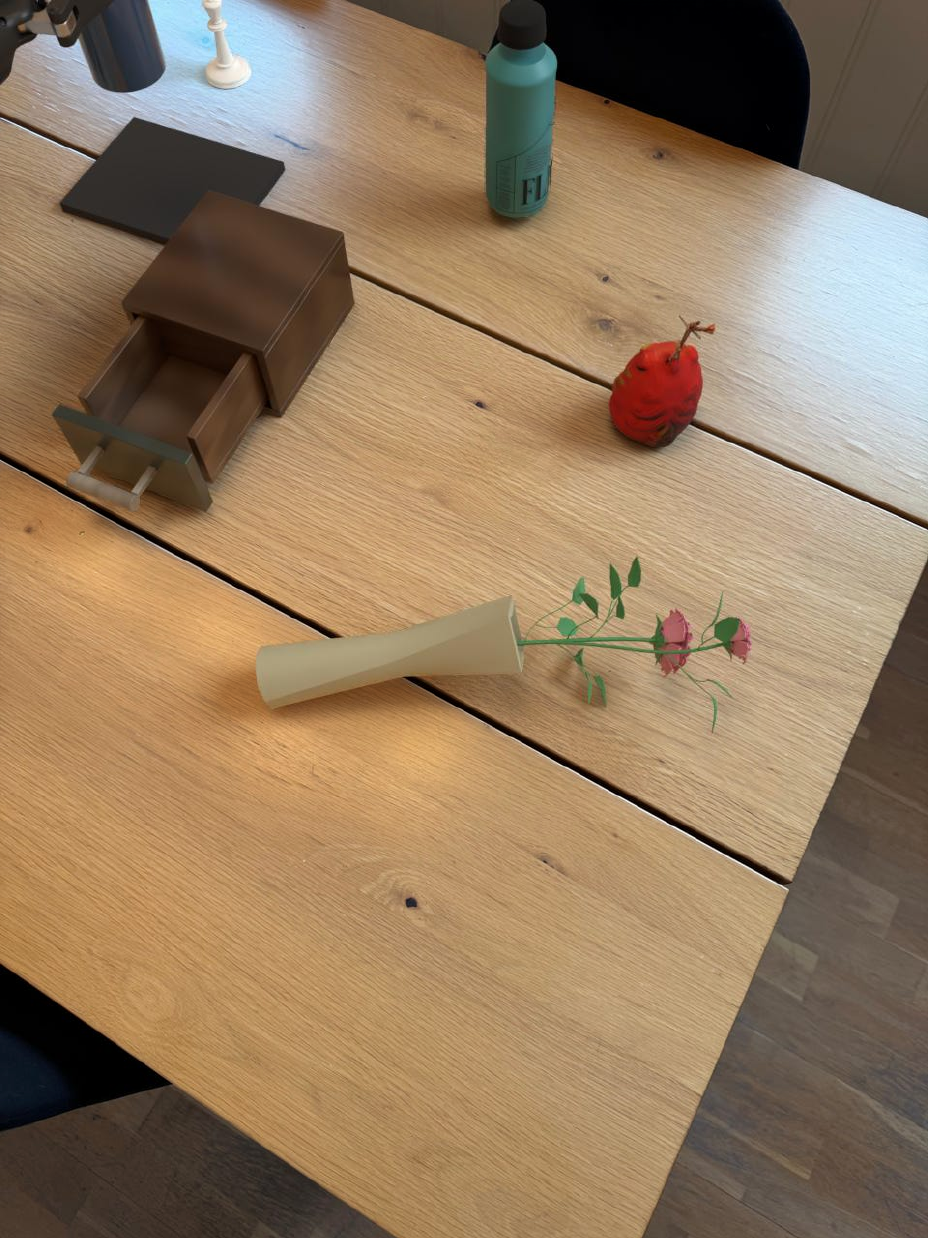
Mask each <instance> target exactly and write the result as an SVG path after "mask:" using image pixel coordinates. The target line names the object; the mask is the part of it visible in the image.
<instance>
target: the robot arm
mask: <svg viewBox="0 0 928 1238" xmlns="http://www.w3.org/2000/svg"><path fill="white" fill-rule="evenodd" d="M114 1H115V0H0V86H2V84H4V83H5V81H6V80H7V79H8V78H9V77H10V75H11V72H12V70H13V69H12V68H13V64H14V58H15V54H16V51H17V49H19V48H20V47H22V46H23V45H26V44H28V43H30V42H32V41H34V40H35V39H36V38H37V37H38V35H47V36H55V37H56V40H57V42H58V46H60V47H61V48H65V49H66V48H72V47H73V46H75V44H76V43H77V41H78V37H79V35H80V34H81V32H82V30H83V28H84V27H85V26H86V25H88V24H89V23H90V22H91V21H92V20H93V19H94V18H95V17H97V16H98V15H99V14H100V13H101V12H102V11H103V10H105V9H106V8H107V7H108V6H109V5H110V4H111V3H112V2H114Z"/></svg>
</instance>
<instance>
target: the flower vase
mask: <svg viewBox="0 0 928 1238" xmlns="http://www.w3.org/2000/svg"><path fill="white" fill-rule="evenodd" d="M641 581H642V568H641V564H640V560H639V557H638V555H636V557H635V558H634V559H633V560H632V563H631V567H630V570H629V573H628V574H627V585H626V586H625V587H624V588H623V585H622V581H621V578H620V574H619V573H618V571H617V570H616V568H615V567H614V566H613V564H612V562H609V587H610V598H611V599H612V600H611V601H610V605H609V609H608V613H607V616H606V619H605V620H604V622H603V623H602V625H601V626H600V627H599V628H598V629H597V630H596V631H595V632H594V633H593V634H592V635H591V636H590V637H573V636H576V634H577V633H578V631H579V629H580V628H579V627H580V626H582V625H583V624H587V623H588V622H590V621H592V620H594V619H597V620H599V605H600V604H599V602H598V600H597V598H596V597H594V596H593V595H591V594H590V593H586V584H585V583H586V582H585V576H582V577H580V578H579V580H578V581H577V584H576V585H575V587H574V588H573V591H572V597H571V600H570V601H569V602H567V603H566V604H565V605H563V606H560V608H557V609H556V610H554V611H552V612H550V613H548V614H546V615H544V616H543V617H541V618H539V620H537V621H536V622H535V623H534V624H532V626H531V627H530V629H529V630H528V631H527V633H526V635H525V637H524V639H523V636H522V632H521V628H520V623H519V618H518V614H517V609H516V604H515V600H514V596H513V594H509V595H507V596H504V597H500V598H497V599H493V600H491V601H488V602H484V603H481V604H478V605H474V606H471V607H468V608H465V609H462V610H459V611H456V612H452V613H449V614H446V615H443V616H440V617H436V618H433V619H429V620H426V621H424V622H421V623H418V624H414V625H411V626H408V627H404V628H401V629H398V630H394V631H389V632H382V633H381V632H380V633H371V634H360V635H354V636H353V635H352V636H351V635H350V636H344V637H343V636H342V637H334V638H325V639H316V640H315V639H314V640H305V641H295V642H286V643H285V642H284V643H278V644H276V643H275V644H267V645H260V646H259V649H258V651H257V653H256V655H255V676H256V681H257V687H258V690H259V692H260V695H261V697H262V700H263V702H264V704H266V705H267V707H268V708H270V709H271V710H273V709H277V708H281V707H285V706H289V705H292V704H296V703H297V704H298V703H301V702H305V701H309V700H313V699H316V698H317V699H318V698H321V697H325V696H329V695H334V694H338V693H342V692H346V691H350V690H353V689H354V690H355V689H358V688H361V687H362V688H363V687H365V686H370V685H374V684H378V683H383V682H386V681H391V680H394V679H398V678H404V677H425V676H427V677H428V676H429V677H430V676H473V675H476V676H478V675H479V676H480V675H519V674H522V671H523V664H524V657H525V649H526V647H525V646H537V645H557V646H559V647H560V648H561V649H563V650H565V652H567V653H568V654H570V655H571V657H573V658H574V661H576V664H577V665H578V666H579V669H580V671H581V672H582V673H583V674H584V676H585V677H586V680H587V706H589V704H590V702H591V698H592V696H593V695H592V694H593V693H592V692H593V684H592V681H591V678H593V680H594V681H595V683H596V685H597V687H598V688H599V690H600V692H601V696H602V698H603V699H602V700H603V702H604V705H605V708H607V707H608V705H607V703H608V702H607V691H606V687H605V682H604V680H603V678H602V676H601V675H600V674H598V675H594V676H593V675H592V674H590V673H589V672H588V671H587V670H586V669H585V668H584V663H583V654H584V649H585V648H584V647H594V648H595V647H596V648H605V649H614V650H615V649H616V650H621V651H630V652H637V653H645V654H653V655H654V658H655V659H656V660H655V665H654V666H657V665H658V664H659V665H660V666H661V669H660V670H661V672H664V674H665V675H663V676H662V679H664V678H667V676H668V675H669V674H670V673H671V672H672V671H673V672H672V674H673V675H675V674H676V673H677V672H678V671H679V669H680V670H681V671H682V672H683V673H684V674H685V675H686V676H687V677H688V678H689V679H690V680H691V681H692V682H693V683H694V684H695V685H697V686H698V687H699V688H700V689H701V690H702V691H704V692H705V693H706V694H708V695H709V696H710V698H711V700H712V703H713V708H714V709H713V720H712V727H711V734H712V735H713V733H714V730H715V726H716V722H717V714H718V702H717V699H716V698H715V697H714V696H713V695H712V694H711V693H709V692H708V691H707V690H705V688H703V687H702V686H701V685H700V684H698V683H697V682H699V683H706V682H711V683H713V684H715V685H717V686H718V687H719V688H720V689H721V690H723V692H725V694H726V695H728V696H729V697H730V698H732V695H731V694H730V692H729V691H728V690H727V688H725V687H724V686H723V685H722V684H721V683H720V682H718V681H716V680H714V679H710V678H707V679H706V680H705V679H704V680H699V679H696V678H694V677H693V676H691V675H690V674H689V673H687V671H686V670H684V669H683V667H684V666H685V665H686V664H687V663H688V660H687V658H689V657H690V656H691V654H693V653H697V652H698V653H699V652H702V651H708V650H712V649H717V648H720V647H723V648H724V649H725V651H726V653H727V654H728V655H729V658H730V659H729V660H730V662H732V660H733V656H735V657H738V659H739V660H740V659H742V660H743V662H742V663H741V664H742V665H744V664H746V663H748V656H749V653H750V652H751V650H752V645H753V642H752V641H751V639H752V634H751V627H750V625H748V624H746V623H745V622H744V621H743V619H742V618H741V617H740V615H738V616H735V617H732V616H728V617H726V618H723V619H721V620H719V621H718V619H719V617H720V613H721V608H722V606H723V599H724V598H723V596H724V591H722V592H721V595H720V601H719V605H718V608H717V611H716V615H715V616H714V617H715V618H714V619H713V621H712V622H711V623H710V624H709V625H708V626H707V627H706V628H705V629H704V631H703V632H702V634H701V644H699V646H697V647H696V648H692V647H691V646H689V644H691V642H692V641H693V640H694V633H693V632H690V630H691V629H692V624H691V623H690V622H688V621H687V619H686V617H685V614H684V612H681V611H680V610H679V609H678V608H677V607H675V608H674V610H675V611H674V610H673V609H670V610H669V615H668V617H666V618H665V619H664V620H663V621H662V619H661V618H660V616H659V615H658V614H657V613H655V617H656V622H657V624H656V628H655V632H654V635H652V637H636V636H635V637H633V636H595V635H597V633H598V632H600V630H601V629H602V628H603V627H604V626H605V625H606V623H608V622H609V621H610V620H611V619H612V618H613V617H615V618H618V619H621V620H624V618H625V616H626V612H625V605H624V603H623V600H622V597H621V595H622V594H623V592H624V591H625V590H626V589H627V588H636V589H638V588H639V586H640V584H641ZM614 601H615V602H614ZM572 602H574V603H575V604H576V605H579V606H581V605H582V604H583V603H584V604H585V605H586V606H587V608H588V609H590V611H591V612H592V613H593V615H594V616H593V617H592V618H590V619H588V620H586V621H584V622H582V623H580V624H578V625H577V624H576V622H575V621H574V619H572V618H569V617H567V616H566V617H564V616H563V617H560V618H559V621H558V623H557V625H556V626H543V625H539V624H538V623H539V622H541V620H543V619H545V618H546V617H549V616H550V615H552V614H554V613H556V612H558V611H559V610H562V609H563V608H565V607H567V606H568V605H570V604H571V603H572ZM613 602H614V604H613ZM612 604H613V607H612ZM614 608H615V615H612V613H613V611H614ZM535 626H537V627H540V628H543V629H545V628H546V629H548V628H549V629H550V628H551V629H553V628H555V629H557V630H558V631H559V633H560V634H561V636H562V637H563V638H554V639H551V638H550V639H535V640H534V639H533V640H526V639H527V638H528V635H529V634H530V632H531V630H532V629H533V628H534V627H535ZM713 626H714V628H713V629H714V630H713V636H712V637H710V638H708V639H706V640H705V641H704V640H703V639H704V634H705V633H706V631H707V630H708V629H709V628H711V627H713ZM564 637H565V638H564ZM571 637H572V638H571ZM712 639H717V640H718V641H720V642H719V643H715V644H712V645H706V646H703V645H704V644H706V643H707V642H709V641H711V640H712ZM599 642H600V643H599ZM601 642H602V643H601ZM603 642H606V643H603ZM607 642H636V643H637V642H642V643H649V644H651V645H652V647H653V648H652V649H646V648H638V647H631V646H625V645H624V646H623V645H617V644H616V645H615V644H607ZM562 645H564V646H565V645H567V646H584V647H581V648H580V649H579V650H578V651H577V652H576V654H575V655H573V654H572V653H571V652H570V651H569V650H568V649H566V648H565V647H563V646H562Z"/></svg>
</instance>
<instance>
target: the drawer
mask: <svg viewBox="0 0 928 1238" xmlns="http://www.w3.org/2000/svg"><path fill="white" fill-rule="evenodd" d="M77 398H78V400H79V402H80V404H81V406H82V408H83V409H84V411H85V412H83V411H80V410H77V409H75V408H72V407H69V406H67V405H64V404H61V403H59V404H58V405H57V406H56V408H55V409H54V410H53V412H52V413H51V416H52V418H53V419H54V421H55V422H56V424H57V426H58V428H59V429H60V431H61V433H62V435H63V436H64V438H65V439H66V442H67V443H68V445H69V446H70V448H71V450H72V452H73V453H74V455H75V456H76V458H77V460H78V461H79V463H80V465H81V466H80V468H78V470H77V471H76V470H74V471H71V472H69V473H68V475H67V476H66V481H65V484H66V486H67V488H69V489H71V490H74V491H76V492H79V493H81V494H85V495H87V496H89V497H92V498H94V499H97V500H99V501H103V502H105V503H107V504H110V505H112V506H114V507H117V508H120V509H123V510H125V511H128V512H130V513H135V512H137V510H138V509H139V508H140V505H141V496H142V494H143V493H144V491H146V490H148V491H150V492H153V493H155V494H158V495H160V496H163V497H165V498H169V499H171V500H174V501H176V502H179V503H180V504H184V505H187V506H190V507H192V508H194V509H197V510H200V511H202V512H205V513H207V512H208V510H209V509H210V507H211V506H212V504H213V502H214V500H213V498H212V495H211V493H210V490H209V488H208V486H207V484H206V483H208V484H211V485H214V483H215V482H216V481H217V479H218V477H219V476H220V475H221V473H222V472H223V470H224V468H225V467H226V466H227V464H228V462H229V461H230V459H231V458H232V456H233V455H234V454H235V452H236V450H237V448H238V447H239V446H240V444H241V443H242V441H243V440H244V438H245V436H246V435H248V432H249V431H250V429H251V427H252V426H253V424H254V423H255V421H256V420H257V419H258V417H259V416H260V414H261V412H263V411H262V409H263V408H264V406H265V405H266V403H267V402H268V400H269V396H268V393H267V389H266V386H265V382H264V379H263V375H262V372H261V369H260V365H259V362H258V358H257V355H256V354H253V353H250V352H247V351H244V350H241V349H238V348H235V347H232V346H229V345H227V344H224V343H221V342H218V341H215V340H212V339H209V338H206V337H203V336H200V335H197V334H195V333H192V332H189V331H186V330H183V329H180V328H177V327H174V326H171V325H168V324H165V323H163V322H160V321H157V320H154V319H151V318H148V317H145V316H142V315H139V316H138V317H137V318H136V320H135V321H134V322H133V324H132V325H130V326H129V328H127V330H126V332H125V333H124V334H123V335H122V336H121V338H120V339H119V340H118V342H117V343H116V344H115V346H114V347H113V348H112V349H111V351H110V353H109V354H108V355H107V356H106V357H105V359H103V361H102V362H101V364H100V365H99V367H98V368H97V369H96V371H95V372H94V373H93V375H92V376H91V377H90V378H89V380H88V381H87V382H86V384H85V385H84V386H83V388H82V389H81V390H80V392H78V394H77ZM93 470H95V471H98V472H100V473H103V474H105V475H107V476H111V477H113V478H116V479H119V480H121V481H123V482H127V483H129V484H132V485H134V487H133V488H132V489H131V492H130V491H128V490H125V489H123V488H120V487H118V486H115V485H112V484H109V483H106V482H105V481H102V480H99V479H97V478H94V477H91V476H89V475H90V474H91V472H92V471H93Z"/></svg>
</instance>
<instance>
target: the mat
mask: <svg viewBox="0 0 928 1238" xmlns="http://www.w3.org/2000/svg"><path fill="white" fill-rule="evenodd" d="M285 171H286V166H285V161H282V160H279V159H276V158H273V157H269V156H266V155H262V154H260V153H255V152H252V151H249V150H246V149H242V148H239V147H235V146H232V145H229V144H226V143H222V142H220V141H216V140H213V139H210V138H206V137H203V136H199V135H196V134H192V133H189V132H187V131H186V132H185V131H183V130H180V129H176V128H172V127H169V126H165V125H163V124H159V123H156V122H152V121H149V120H146V119H144V118H143V119H142V118H139V117H136V116H133V117H132V118H131V120H130V121H129V122H128V123H127V124H126V125H125V126H124V128H122V130H121V131H120V132H119V133H118V134H117V135H116V137H114V139H113V140H112V141H111V142H110V143H109V145H108V146H107V147H106V148H105V149H104V151H102V153H101V154H100V155H99V157H97V158H96V160H95V161H94V162H93V163H92V164H91V165H90V167H89V168H88V169H87V170H86V172H84V173H83V175H82V176H81V177H80V178H79V179H78V181H77V182H76V183H75V184H74V185H73V186H72V188H70V189H69V190H68V192H67V193H66V194H65V196H63V198H62V199H61V200H60V201H59V202H58V204H59V207H60V208H61V211H62V212H64V213H68V214H70V215H74V216H77V217H80V218H83V219H85V220H89V221H92V222H95V223H98V224H101V225H104V226H106V227H107V226H108V227H111V228H113V229H116V230H119V231H122V232H125V233H129V234H132V235H135V236H138V237H141V238H144V239H147V240H150V241H153V242H156V243H159V244H162V245H164V246H165V245H166V244H167V243H168V241H169V240H170V239H171V238H172V236H173V235H174V234H175V232H176V231H177V230H178V229H179V227H180V226H181V225H182V224H183V222H184V221H185V220H186V218H187V217H188V216H189V215H190V213H191V212H192V211H193V209H194V208H195V207H196V206H197V204H198V203H199V202H200V201H201V199H202V198H203V197H204V195H205V194H206V193H207V192H208V190H210V191H213V192H216V193H219V194H223V195H226V196H229V197H232V198H235V199H239V200H242V201H245V202H248V203H252V204H255V205H258V206H260V205H261V204H262V203H263V201H264V200H265V198H266V197H267V196H268V195H269V193H270V192H271V190H272V189H273V187H274V186H275V185H276V184H277V182H278V181H279V179H280V178H281V177H282V175H283V174H284V173H285Z"/></svg>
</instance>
